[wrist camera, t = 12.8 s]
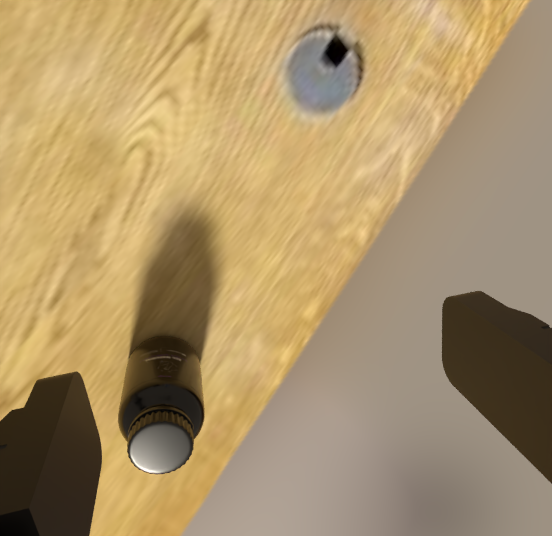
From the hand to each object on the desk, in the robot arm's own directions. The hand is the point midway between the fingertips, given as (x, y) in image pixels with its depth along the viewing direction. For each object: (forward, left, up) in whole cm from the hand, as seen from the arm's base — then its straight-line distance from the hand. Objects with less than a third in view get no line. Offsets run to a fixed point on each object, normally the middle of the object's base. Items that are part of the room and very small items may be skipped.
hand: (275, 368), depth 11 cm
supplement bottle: (-6, -18, -33) cm, 38 cm away
